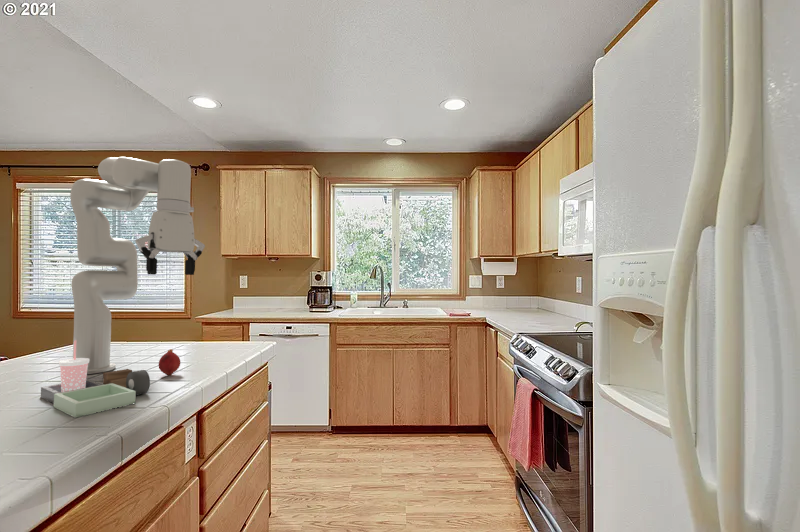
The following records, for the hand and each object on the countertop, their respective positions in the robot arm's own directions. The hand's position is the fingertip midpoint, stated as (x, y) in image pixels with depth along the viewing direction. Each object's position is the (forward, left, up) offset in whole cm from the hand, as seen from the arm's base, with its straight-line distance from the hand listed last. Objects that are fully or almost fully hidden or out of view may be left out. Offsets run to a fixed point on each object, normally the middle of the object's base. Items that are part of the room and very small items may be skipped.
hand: (171, 274), depth 107 cm
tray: (-5, -14, -31) cm, 35 cm away
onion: (-20, +11, -31) cm, 39 cm away
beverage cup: (-18, -14, -31) cm, 39 cm away
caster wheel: (-7, -4, -31) cm, 32 cm away
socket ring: (-18, -14, -31) cm, 39 cm away
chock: (-17, -4, -31) cm, 36 cm away
